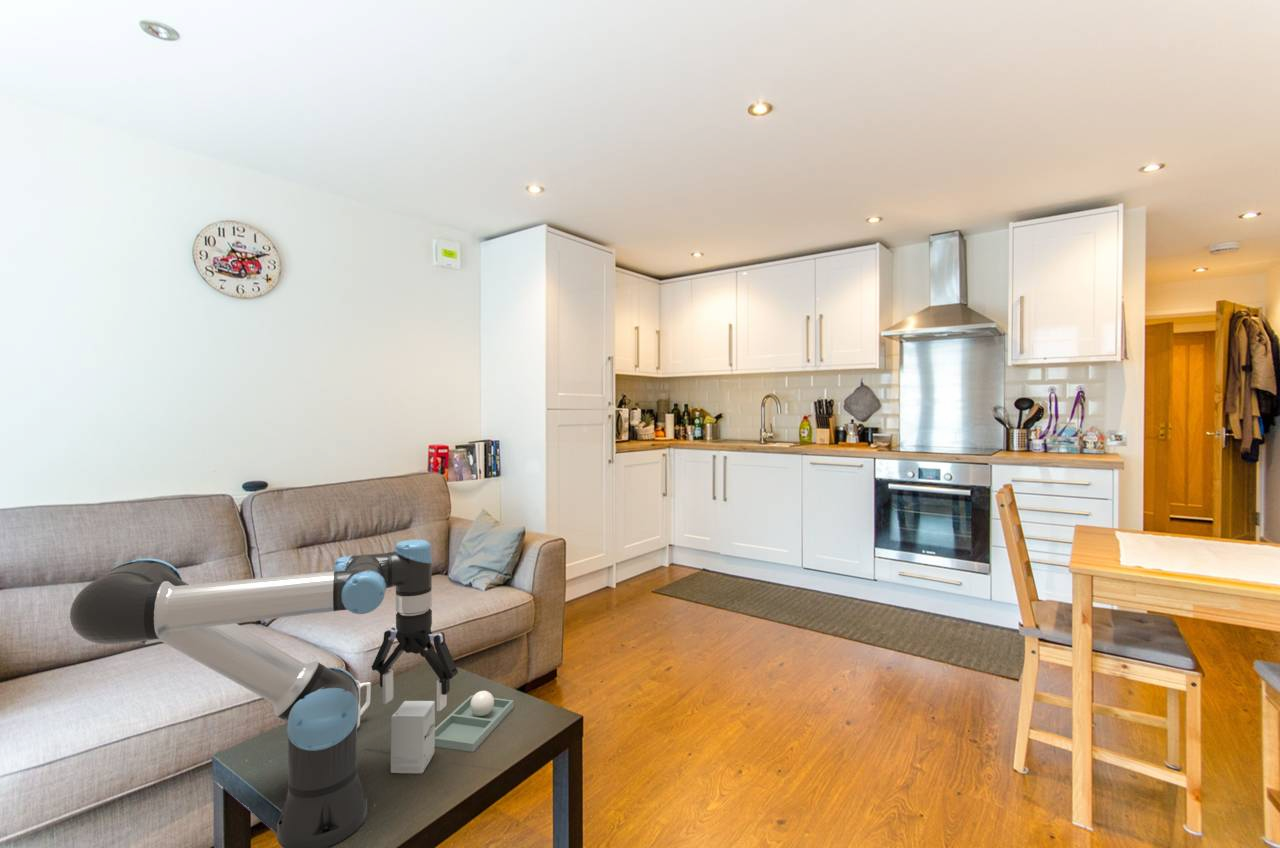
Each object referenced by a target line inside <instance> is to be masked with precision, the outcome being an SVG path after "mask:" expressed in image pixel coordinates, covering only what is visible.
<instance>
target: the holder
mask: <svg viewBox="0 0 1280 848" xmlns="http://www.w3.org/2000/svg"><path fill="white" fill-rule="evenodd" d="M474 695H475V694H473V695H472V694H471V695H470V696H469V697H468V698H467V699H465V700H464V701H463V702H462V703H461V704H460V705H458V706H457V708H455V709H454V710H453V711H452V712H451V713H450V714H449V715H448V716H447V717H445V719H443V720H442V721H441V722H439V724H438V725H437V726H435V748H441V749H442V748H443V749H448V750H454V751H461V752H468V753H474V752H475V751H476V750H477V749H478V747H479V746H480V745H482V743H483V742H484V741H485V740H486V739H487V738H488V737H489V736H490V734H491V733H492V732H493V731H494V730H495V729H496V728H497V727H498V726H499V724H501V722H503V720H504V719H505V718H506V717H507V716H508V714H509V713H511V711H512V710H513V709H514V708H515V705H514V703H515V701H514V700H513V699H504V698H497V697H493V698H494V706H493V709H492V710H491V712H490V713H489V714H487V715H485V716H477V715H475V714H474V713H473V712H472V710H471V707H470V703H471V699H472V697H473V696H474Z"/></svg>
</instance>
